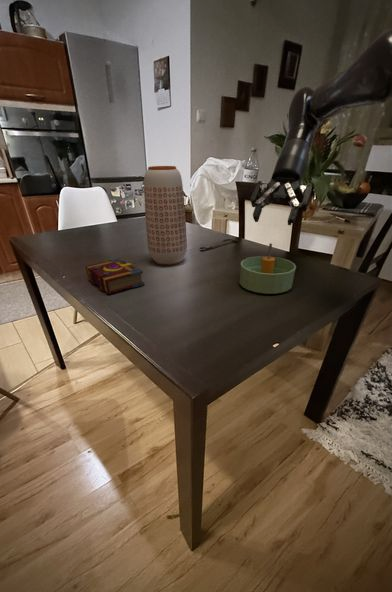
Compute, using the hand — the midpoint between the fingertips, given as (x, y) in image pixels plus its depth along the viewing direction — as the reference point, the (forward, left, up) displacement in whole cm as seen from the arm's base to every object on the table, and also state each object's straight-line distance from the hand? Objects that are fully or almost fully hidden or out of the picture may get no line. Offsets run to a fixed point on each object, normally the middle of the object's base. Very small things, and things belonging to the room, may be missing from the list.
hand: (272, 221), depth 71 cm
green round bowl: (-1, -1, -17) cm, 17 cm away
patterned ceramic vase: (+31, -19, -18) cm, 41 cm away
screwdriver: (-1, -1, -17) cm, 17 cm away
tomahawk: (+15, -40, -18) cm, 47 cm away
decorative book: (+44, +1, -18) cm, 47 cm away
